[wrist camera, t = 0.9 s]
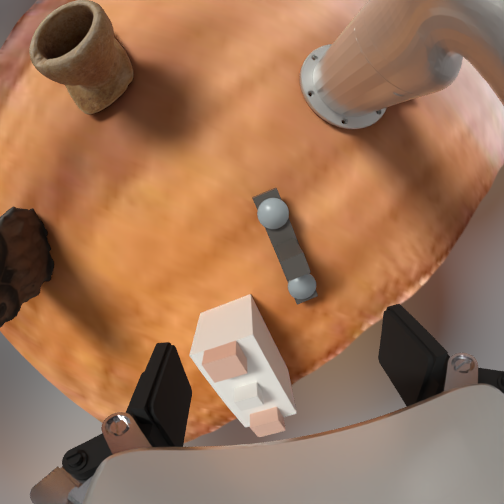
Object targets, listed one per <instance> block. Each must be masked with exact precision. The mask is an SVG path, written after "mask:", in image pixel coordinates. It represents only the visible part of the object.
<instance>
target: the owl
mask: <svg viewBox="0 0 504 504" xmlns="http://www.w3.org/2000/svg"><path fill="white" fill-rule="evenodd" d="M47 235H48V232H47V230H46V229H45V227H44V224H43V222H42V221H41V220H40V219H39V218H38V217H37V215H36V213H35V211H34V209H30V210H27V209H20V208H15V207H12V208H11V209H9V210H8V211H6V213H5V214H3V215H2V216H1V217H0V327H2V326H3V324H4V323H5V322H8V321H10V320H12V319H13V318H14V317H16V316H17V313H18V312H19V311H20V308H21V305H22V304H23V303H24V302H27V301H28V300H29V299H31V298H33V297H35V296H37V295H39V293H40V288H41V285H42V283H43V282H44V281H50V280H51V275H52V272H53V268H54V261H53V259H52V258H51V255H50V250H51V247H50V245H49V243H48V240H47V237H46V236H47Z"/></svg>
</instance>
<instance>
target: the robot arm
mask: <svg viewBox="0 0 504 504" xmlns="http://www.w3.org/2000/svg"><path fill="white" fill-rule="evenodd" d="M463 57H464V58H465V59H467V60H468V61H469V62H470V63H471V64H472V65H473V66H474V68H475V69H476V70H477V71H478V72H479V73H480V75H481V76H482V77H483V78H484V79H485V80H486V81H487V83H488V84H489V85H490V87H491V88H492V89H493V91H494V92H495V94H496V95H497V97H498V98H499V99H500V101H501V102H502V104H503V105H504V0H369V1H368V2H367V3H366V4H365V5H364V7H363V8H362V9H361V10H360V11H359V12H358V14H357V15H356V16H355V17H354V18H353V19H352V21H351V22H350V23H349V24H348V25H347V27H346V28H345V29H344V30H343V32H342V33H341V34H340V35H339V36H338V38H337V39H336V40H335V41H334V43H333V44H330V45H325V46H322V47H319V48H317V49H316V50H314V51H313V52H312V53H310V54H309V55H308V57H307V58H306V59H305V61H304V63H303V65H302V67H301V71H300V86H301V91H302V93H303V96H304V98H305V100H306V102H307V103H308V105H309V106H310V108H311V109H312V110H313V111H314V112H315V113H316V114H317V115H318V116H319V117H321V118H322V119H323V120H325V121H327V122H328V123H330V124H332V125H335V126H337V127H340V128H345V129H360V128H364V127H367V126H370V125H372V124H374V123H375V122H377V121H378V120H379V119H380V118H381V117H382V115H383V114H384V112H385V111H386V108H387V107H390V106H393V105H396V104H399V103H402V102H405V101H408V100H411V99H415V98H418V97H421V96H425V95H428V94H431V93H435V92H438V91H441V90H443V89H445V88H447V87H448V86H449V85H451V84H452V83H453V81H454V80H455V79H456V77H457V76H458V73H459V71H460V68H461V65H462V59H463ZM313 59H314V60H313ZM308 94H311V97H310V96H309V95H308ZM376 112H377V113H376ZM342 121H344V124H343V123H342ZM447 353H448V352H447V351H446V350H445V349H444V348H443V347H442V346H441V345H440V344H439V343H438V342H437V341H436V340H435V338H434V337H433V336H432V335H431V334H430V333H429V332H427V330H426V329H425V328H423V326H422V325H420V323H419V322H418V321H417V320H415V318H413V316H412V315H410V314H409V313H408V312H407V311H406V310H405V309H404V308H403V307H402V306H401V305H400V304H396V305H393V306H389V307H387V309H386V311H384V314H383V324H382V334H381V341H380V349H379V356H378V358H379V362H380V364H381V366H382V367H383V369H384V370H385V372H386V374H387V375H388V376H389V378H390V380H391V382H392V383H393V385H394V386H395V388H396V389H397V391H398V393H399V394H400V396H401V398H402V399H403V401H404V402H405V404H406V406H407V407H405V408H402V409H399V410H397V411H394V412H391V413H388V414H386V415H383V416H380V417H377V418H374V419H370V420H367V421H364V422H360V423H357V424H354V425H350V426H346V427H342V428H338V429H335V430H330V431H326V432H322V433H318V434H313V435H307V436H302V437H297V438H291V439H285V440H278V441H272V442H263V443H254V444H244V445H231V446H211V447H183V443H184V437H185V431H186V425H187V419H188V414H189V408H190V402H191V397H192V389H191V386H190V384H189V381H188V379H187V376H186V374H185V371H184V368H183V366H182V363H181V361H180V358H179V355H178V352H177V350H176V347H175V346H174V345H171V343H169V342H167V343H157V344H156V346H155V348H154V351H153V353H152V355H151V358H150V360H149V363H148V365H147V367H146V370H145V372H143V373H142V374H141V377H140V379H139V381H138V384H137V386H136V389H135V391H134V393H133V396H132V398H131V401H130V403H129V406H128V408H127V411H126V413H123V412H119V413H114V414H112V415H110V416H108V417H107V418H106V419H105V420H104V422H103V423H102V434H100V435H99V436H97V437H94V438H93V439H91V440H89V441H87V442H85V443H83V444H81V445H79V446H77V447H75V448H73V449H71V450H69V451H67V453H66V454H65V455H64V457H63V460H62V465H63V466H62V467H61V468H59V467H56V468H55V469H54V470H53V471H51V472H50V473H49V474H48V475H47V476H46V477H44V478H43V479H42V480H41V481H40V482H39V483H37V484H36V485H35V486H34V487H33V488H32V489H31V492H30V498H31V501H32V502H33V503H34V504H504V371H496V370H490V369H482V368H478V363H477V361H476V359H475V358H474V357H473V356H472V355H469V354H467V353H456V354H454V355H452V356H451V357H450V356H449V355H448V354H447Z"/></svg>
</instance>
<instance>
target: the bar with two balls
mask: <svg viewBox="0 0 504 504" xmlns="http://www.w3.org/2000/svg"><path fill="white" fill-rule="evenodd" d="M252 198H253V201H254V203H255V205H256V207H257V210H258V212H257V214H258V219H259V221H260V223H261V224H262V225H263V226H264V227H265V228H266V231H267V233H268V236H269V238H270V240H271V243H272V245H273V247H274V250H275V252H276V255H277V257H278V259H279V262H280V264H281V267H282V269H283V271H284V274H285V276H286V279H287V281H288V290H289V292H290V294H291V295H292V296H293V297H294V298H295V301H296V303H297V304H300V303H302V302H305V301H307V300H309V299H312V298H314V297H317V296H318V295H317V292H316V281H315V279H314V277H313V276H312V275H311V274H310V273H311V272H310V269H309V266H308V263H307V261H306V258H305V255H304V253H303V251H302V249H301V248H300V246H299V243H298V241H297V238H296V235H295V233H294V230H293V228H292V225H291V223H290V220H289V218H288V217H289V210H288V207H287V205H286V204H285V203H284V202H283V201H282V200H281V198H280V195H279V193H278V190H277V188H273V189H271V190H268V191H266V192H264V193H261V194H259V195H256V196H254V197H252Z"/></svg>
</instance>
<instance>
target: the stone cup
mask: <svg viewBox="0 0 504 504" xmlns="http://www.w3.org/2000/svg"><path fill="white" fill-rule="evenodd" d="M30 58H31V61H32V63H33V65H34V66H35V67H36V69H37V70H38V71H39V72H40V73H41V74H43V75H44V76H46V77H47V78H49V79H51V80H53V81H55V82H58V83H60V84H64V85H65V86H66V88H67V90H68V92H69V94H70V95H71V97H72V98H73V100H74V102H75V103H76V105H77V106H78V107H79V109H80V110H81V111H83V112H84V113H85V114H94V113H97V112H99V111H101V110H103V109H105V108H106V107H108V106H109V105H111V104H112V103H113V102H114V101H115V100H116V99H117V98H119V97H120V96H121V95H122V94H123V93H124V92H125V90H126V89H127V86H128V84H129V83H130V82H131V81H132V80H133V68H132V65H131V62H130V59H129V57H128V55H127V54H126V52H125V51H124V49H123V48H122V46H121V45H120V44H119V42H118V41H117V40H116V39H115V37H114V31H113V26H112V23H111V21H110V19H109V18H108V16H107V15H106V13H105V12H104V10H103V9H102V7H101V6H100V5H99V4H97V3H95V2H93V1H88V0H77V1H73V2H69V3H67V4H65V5H63V6H60V7H59V8H57V9H56V10H54V11H53V12H52V13H50V14H49V15H48V16H47V17H46V18H45V19H44V20H43V21H42V22H41V24H40V25H39V27H38V28H37V30H36V31H35V33H34V35H33V38H32V41H31V44H30Z"/></svg>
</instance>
